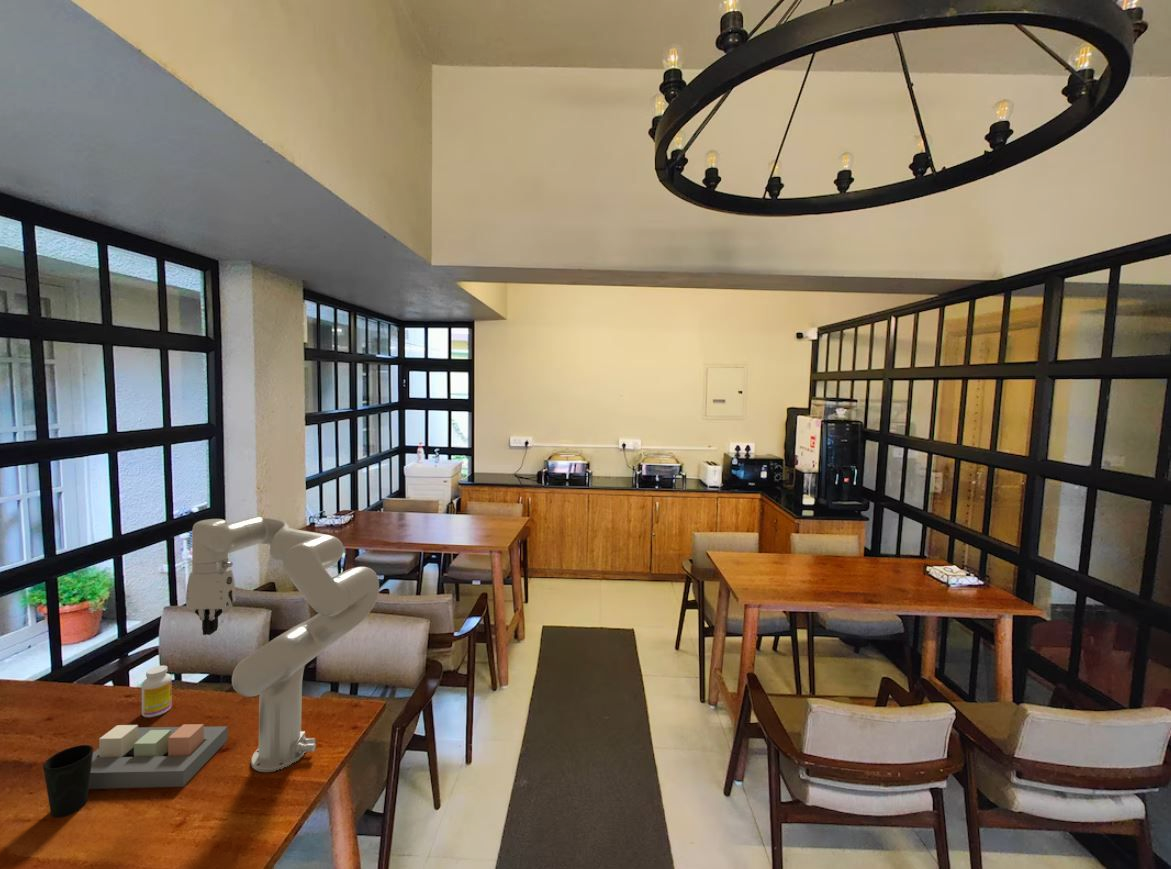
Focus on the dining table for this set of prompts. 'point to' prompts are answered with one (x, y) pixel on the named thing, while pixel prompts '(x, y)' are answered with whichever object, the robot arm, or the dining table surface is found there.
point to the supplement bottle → (156, 692)
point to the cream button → (118, 741)
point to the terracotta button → (186, 740)
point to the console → (154, 764)
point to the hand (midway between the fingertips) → (210, 632)
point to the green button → (152, 744)
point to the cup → (68, 779)
